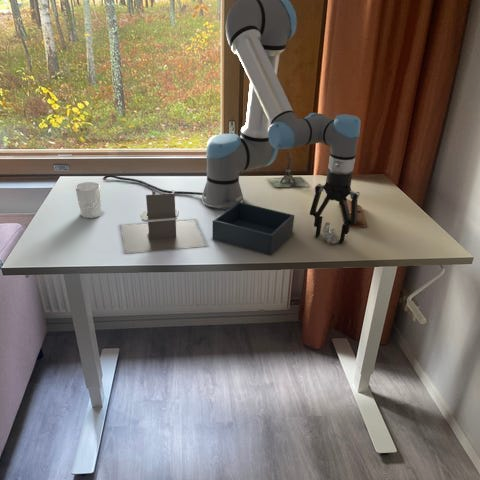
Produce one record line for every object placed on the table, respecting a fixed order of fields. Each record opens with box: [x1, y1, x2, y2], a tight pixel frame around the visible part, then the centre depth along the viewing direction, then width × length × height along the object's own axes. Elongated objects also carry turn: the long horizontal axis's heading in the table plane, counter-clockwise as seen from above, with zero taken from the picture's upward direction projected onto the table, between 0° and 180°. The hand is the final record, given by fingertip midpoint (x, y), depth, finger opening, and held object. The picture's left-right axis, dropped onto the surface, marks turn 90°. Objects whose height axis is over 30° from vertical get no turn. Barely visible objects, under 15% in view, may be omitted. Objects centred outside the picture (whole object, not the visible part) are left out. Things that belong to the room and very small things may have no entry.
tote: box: [212, 202, 295, 256], centre depth 163 cm, size 21×18×7 cm
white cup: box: [74, 181, 102, 219], centre depth 171 cm, size 8×8×10 cm
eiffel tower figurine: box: [266, 150, 310, 188], centre depth 202 cm, size 15×10×13 cm
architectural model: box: [120, 189, 207, 254], centre depth 159 cm, size 20×25×15 cm
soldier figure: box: [322, 221, 340, 245], centre depth 164 cm, size 8×5×12 cm
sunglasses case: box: [338, 198, 368, 228], centre depth 180 cm, size 18×7×7 cm, turn 178°
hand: (329, 239), depth 165 cm, fingers open, 8 cm apart
